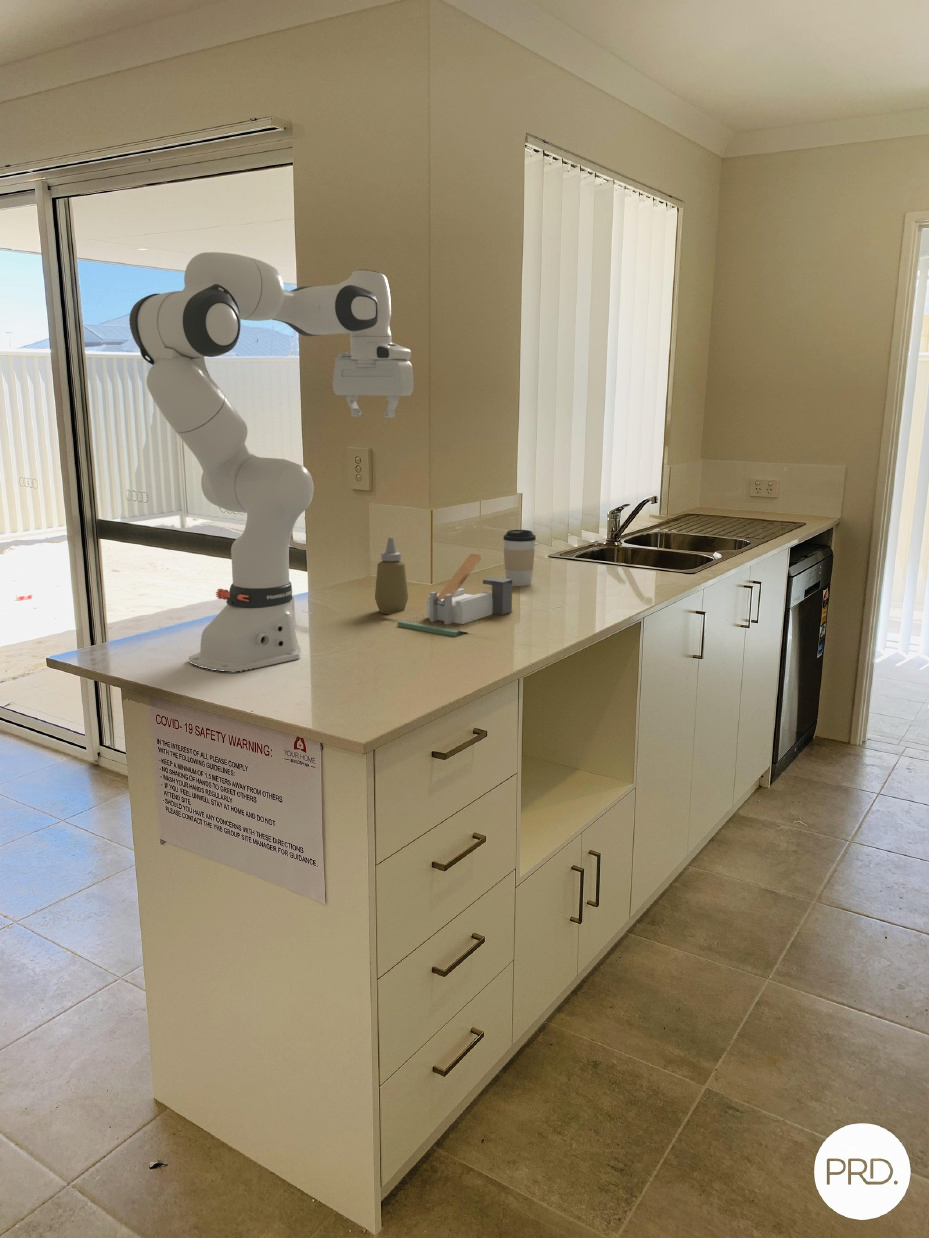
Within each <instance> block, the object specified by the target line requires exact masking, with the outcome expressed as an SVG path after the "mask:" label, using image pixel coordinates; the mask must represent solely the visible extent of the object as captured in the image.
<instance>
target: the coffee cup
mask: <svg viewBox="0 0 929 1238" xmlns="http://www.w3.org/2000/svg"><path fill="white" fill-rule="evenodd" d="M536 536H537V535H535V534H534V533H533V531H531V530H528V529H510V530H507V532H506V533H505V534H504V535H503V538H502V539H503V561H504V562H503V563H504V570H505V579H511V580H512V587H527V586H530V585H529V584H532V577H533V569H534V563H535V560H534V559H535V550H536V549H535V545H536V540H537V539H536ZM526 585H527V586H526Z"/></svg>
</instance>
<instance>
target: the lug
mask: <svg viewBox="0 0 929 1238" xmlns="http://www.w3.org/2000/svg"><path fill="white" fill-rule="evenodd" d="M482 584H483V585H488V586H491V593H492V598H493V601H492V615H497V616H498V615H499V616H500V615H501V616H505V615H506V614H507V615H508V614H511V613H513V609H512V608H513V607H512V606H513V586H512V580H511V579H506V578H505V577H503V578H502V577H494V576H491V577H488V578H484V579H482Z"/></svg>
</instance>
